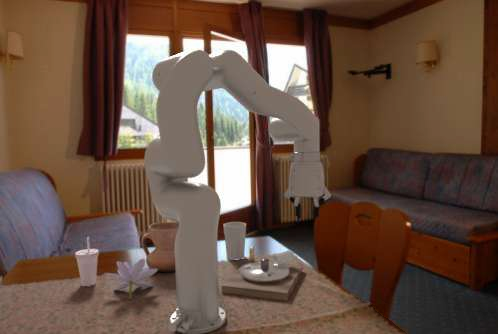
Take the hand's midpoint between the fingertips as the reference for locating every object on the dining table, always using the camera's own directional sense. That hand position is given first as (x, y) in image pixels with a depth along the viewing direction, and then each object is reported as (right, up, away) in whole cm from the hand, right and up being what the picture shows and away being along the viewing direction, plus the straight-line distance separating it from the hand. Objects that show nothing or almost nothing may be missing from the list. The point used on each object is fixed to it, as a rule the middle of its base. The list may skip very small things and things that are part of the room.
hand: (307, 218), depth 110 cm
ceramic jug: (-44, -18, +10) cm, 49 cm away
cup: (-22, -17, +19) cm, 34 cm away
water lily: (-49, -19, -9) cm, 53 cm away
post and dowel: (-14, -16, +1) cm, 21 cm away
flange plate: (-11, -16, -2) cm, 19 cm away
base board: (-13, -18, -3) cm, 22 cm away
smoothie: (-64, -19, -3) cm, 67 cm away
